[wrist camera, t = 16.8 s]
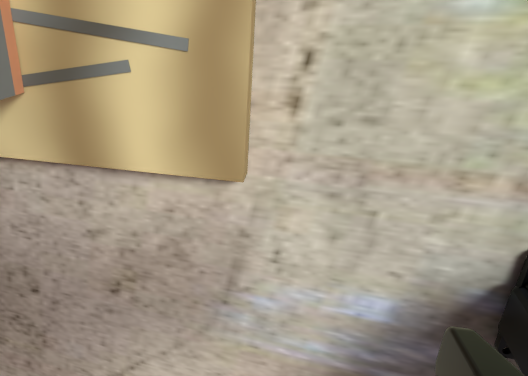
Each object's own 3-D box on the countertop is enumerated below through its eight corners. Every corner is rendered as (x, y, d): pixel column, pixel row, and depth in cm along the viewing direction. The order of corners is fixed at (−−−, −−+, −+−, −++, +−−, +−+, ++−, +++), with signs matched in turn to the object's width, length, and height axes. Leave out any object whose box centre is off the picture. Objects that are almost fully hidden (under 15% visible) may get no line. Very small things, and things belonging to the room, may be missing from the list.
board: (263, -161, 16) (259, -173, 15) (247, 172, 21) (242, 183, 20) (-95, -175, 17) (-126, -187, 16) (-24, 144, 22) (-43, 152, 21)
